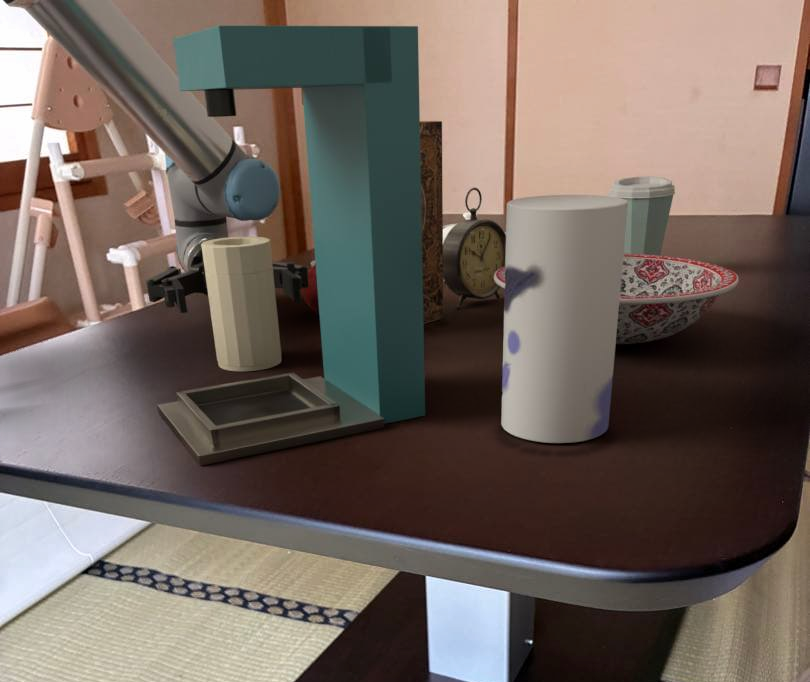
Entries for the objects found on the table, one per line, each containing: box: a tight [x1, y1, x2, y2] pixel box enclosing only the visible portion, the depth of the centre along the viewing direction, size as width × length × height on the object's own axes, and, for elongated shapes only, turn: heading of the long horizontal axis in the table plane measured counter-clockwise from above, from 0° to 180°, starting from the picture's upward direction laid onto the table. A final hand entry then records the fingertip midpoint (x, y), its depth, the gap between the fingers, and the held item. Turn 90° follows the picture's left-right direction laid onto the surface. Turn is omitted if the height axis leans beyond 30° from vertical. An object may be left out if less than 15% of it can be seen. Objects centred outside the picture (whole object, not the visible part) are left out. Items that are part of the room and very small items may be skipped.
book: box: [420, 120, 444, 325], centre depth 110 cm, size 16×6×25 cm, turn 137°
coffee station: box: [157, 25, 426, 467], centre depth 76 cm, size 16×23×33 cm
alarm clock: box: [443, 187, 506, 310], centre depth 122 cm, size 11×5×16 cm, turn 131°
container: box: [500, 194, 628, 444], centre depth 75 cm, size 10×10×20 cm
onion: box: [300, 263, 319, 315], centre depth 121 cm, size 6×6×8 cm
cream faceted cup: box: [201, 236, 282, 373], centre depth 98 cm, size 8×8×14 cm
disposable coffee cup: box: [608, 175, 676, 256], centre depth 139 cm, size 11×11×15 cm
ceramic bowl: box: [494, 254, 739, 345], centre depth 105 cm, size 29×29×8 cm
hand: (240, 295), depth 99 cm, fingers open, 13 cm apart
